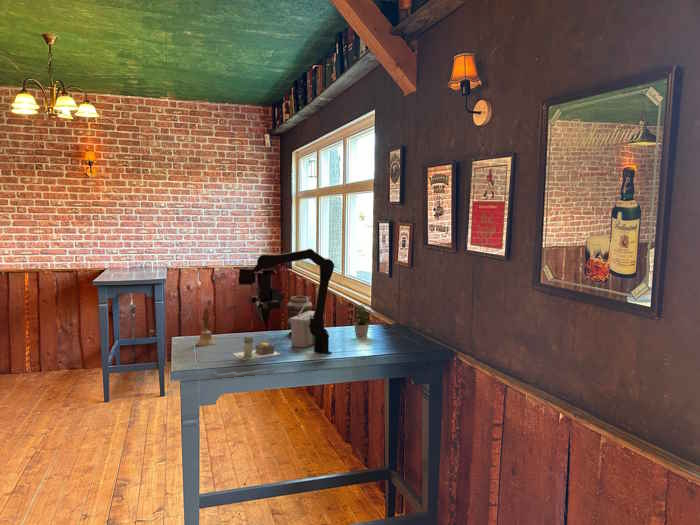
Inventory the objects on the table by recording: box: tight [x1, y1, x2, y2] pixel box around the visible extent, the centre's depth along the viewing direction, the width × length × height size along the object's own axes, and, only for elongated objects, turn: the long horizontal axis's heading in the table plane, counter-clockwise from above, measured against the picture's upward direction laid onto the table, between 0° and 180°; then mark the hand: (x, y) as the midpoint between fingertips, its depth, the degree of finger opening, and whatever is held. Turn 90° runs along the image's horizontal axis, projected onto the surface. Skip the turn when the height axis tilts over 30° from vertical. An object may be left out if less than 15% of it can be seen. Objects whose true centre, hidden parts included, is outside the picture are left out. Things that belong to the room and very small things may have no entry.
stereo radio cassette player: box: [289, 296, 315, 349], centre depth 231 cm, size 21×8×20 cm, turn 160°
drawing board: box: [232, 349, 280, 361], centre depth 211 cm, size 11×16×1 cm
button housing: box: [255, 342, 275, 355], centre depth 214 cm, size 6×6×3 cm
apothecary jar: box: [286, 295, 313, 335], centre depth 251 cm, size 12×12×18 cm
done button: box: [259, 342, 269, 347], centre depth 214 cm, size 4×4×2 cm
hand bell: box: [196, 307, 217, 347], centre depth 229 cm, size 8×8×16 cm
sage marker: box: [243, 335, 254, 357], centre depth 207 cm, size 3×3×8 cm
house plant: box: [348, 304, 374, 339], centre depth 247 cm, size 14×14×16 cm
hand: (264, 323), depth 213 cm, fingers closed
